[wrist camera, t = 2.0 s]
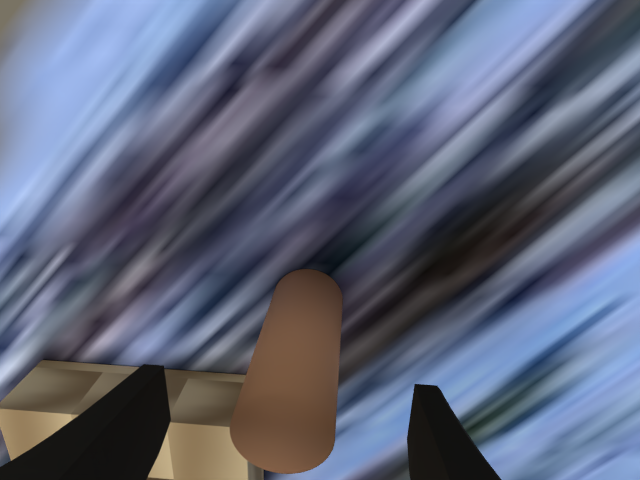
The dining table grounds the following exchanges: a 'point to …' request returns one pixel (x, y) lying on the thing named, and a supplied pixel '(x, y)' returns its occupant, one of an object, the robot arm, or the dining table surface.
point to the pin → (292, 378)
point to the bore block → (183, 432)
